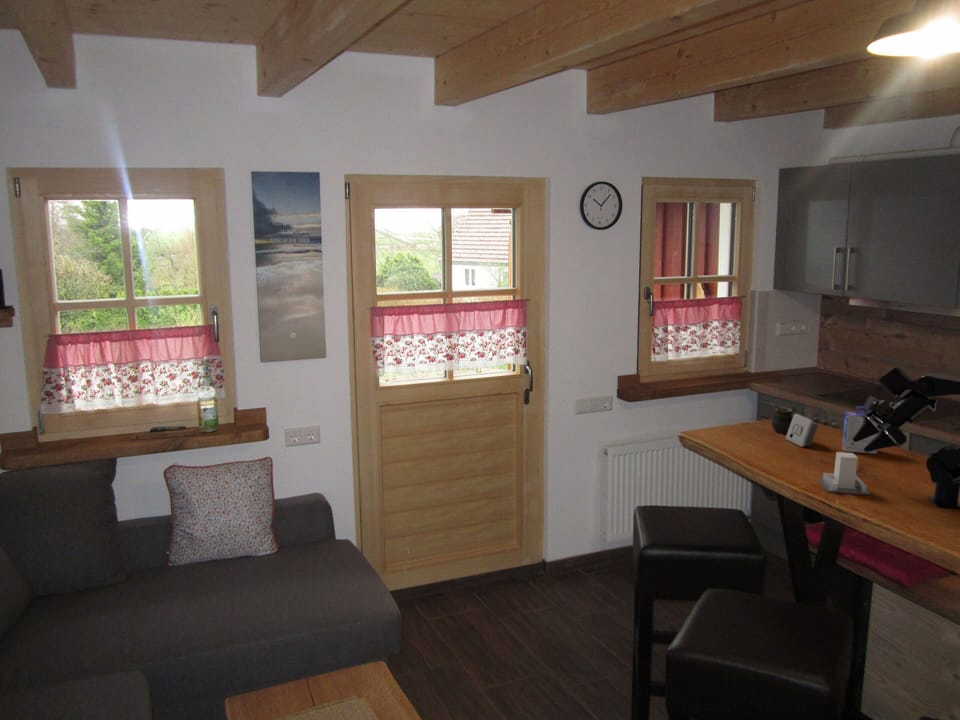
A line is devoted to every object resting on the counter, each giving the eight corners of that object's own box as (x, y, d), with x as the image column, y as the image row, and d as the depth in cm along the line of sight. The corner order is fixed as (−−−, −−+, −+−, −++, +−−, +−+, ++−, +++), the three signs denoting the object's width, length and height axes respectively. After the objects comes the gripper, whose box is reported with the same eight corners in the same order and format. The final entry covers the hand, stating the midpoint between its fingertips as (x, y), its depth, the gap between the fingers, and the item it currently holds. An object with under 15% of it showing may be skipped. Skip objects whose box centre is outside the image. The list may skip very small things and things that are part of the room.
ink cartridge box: (872, 449, 257) (878, 406, 254) (877, 454, 252) (883, 410, 249) (840, 446, 259) (845, 404, 256) (844, 452, 254) (849, 408, 251)
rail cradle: (870, 495, 216) (871, 486, 215) (828, 492, 217) (828, 483, 217) (858, 482, 226) (859, 474, 225) (818, 479, 227) (818, 471, 227)
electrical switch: (784, 439, 266) (789, 413, 265) (798, 440, 267) (803, 413, 266) (801, 448, 257) (807, 420, 256) (815, 448, 258) (820, 421, 257)
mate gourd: (797, 432, 275) (800, 404, 273) (783, 435, 271) (786, 407, 269) (780, 427, 281) (782, 400, 278) (766, 430, 277) (768, 403, 275)
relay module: (855, 489, 219) (859, 458, 217) (837, 487, 220) (841, 457, 218) (850, 483, 223) (854, 453, 221) (833, 482, 224) (836, 452, 222)
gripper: (874, 380, 224) (829, 415, 227) (899, 396, 206) (850, 434, 209) (900, 408, 224) (855, 443, 228) (927, 426, 206) (878, 464, 210)
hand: (859, 445), depth 219 cm, fingers open, 9 cm apart
